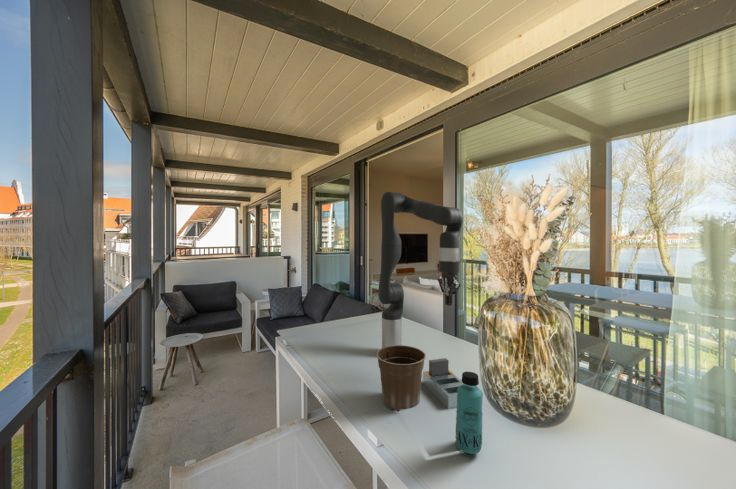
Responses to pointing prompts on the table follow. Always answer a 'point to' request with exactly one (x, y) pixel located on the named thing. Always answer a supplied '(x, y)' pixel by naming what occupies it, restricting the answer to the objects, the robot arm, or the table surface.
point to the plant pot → (401, 375)
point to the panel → (438, 367)
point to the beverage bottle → (469, 414)
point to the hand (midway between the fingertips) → (448, 305)
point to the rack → (443, 387)
